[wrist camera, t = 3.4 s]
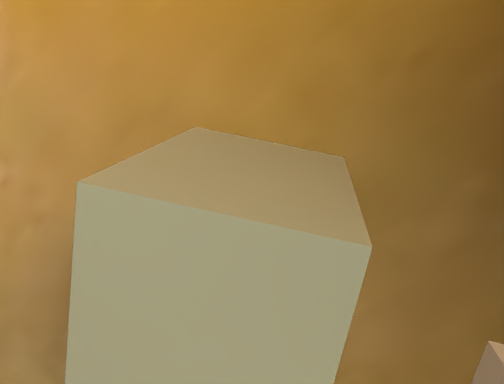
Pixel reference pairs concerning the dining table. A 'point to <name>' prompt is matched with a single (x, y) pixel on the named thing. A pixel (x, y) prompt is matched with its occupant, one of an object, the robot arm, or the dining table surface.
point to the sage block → (215, 265)
